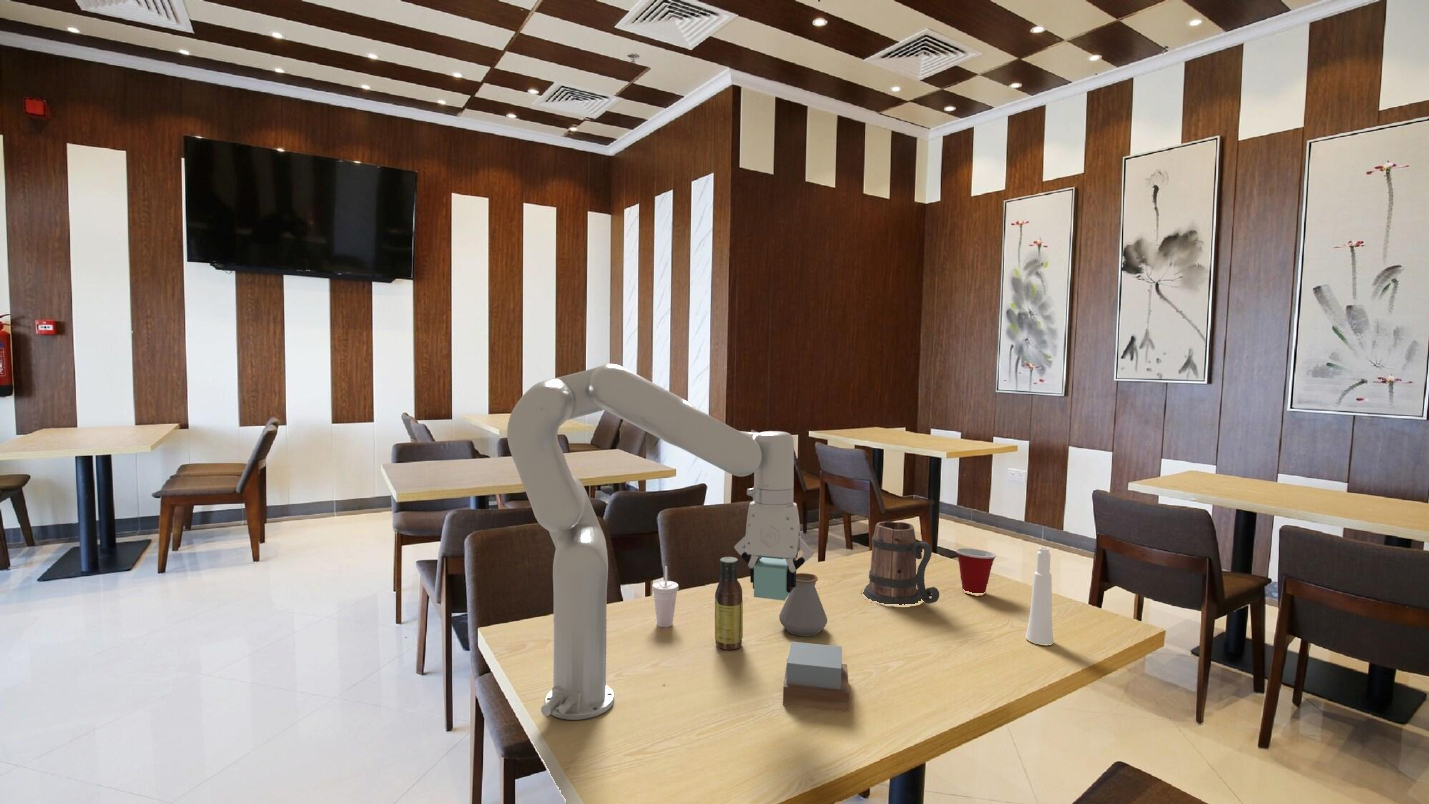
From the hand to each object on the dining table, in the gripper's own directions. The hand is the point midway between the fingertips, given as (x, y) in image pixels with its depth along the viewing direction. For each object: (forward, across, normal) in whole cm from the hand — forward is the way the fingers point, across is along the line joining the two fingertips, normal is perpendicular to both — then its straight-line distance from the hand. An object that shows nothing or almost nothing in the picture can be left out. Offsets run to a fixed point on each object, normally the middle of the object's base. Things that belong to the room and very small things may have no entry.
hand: (773, 587), depth 129 cm
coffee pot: (+21, -4, +34) cm, 40 cm away
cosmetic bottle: (+22, +53, +45) cm, 73 cm away
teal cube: (+1, 0, 0) cm, 1 cm away
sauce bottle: (+20, -14, +16) cm, 29 cm away
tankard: (+21, +21, +61) cm, 68 cm away
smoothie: (+20, -32, +22) cm, 44 cm away
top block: (+17, +8, +2) cm, 19 cm away
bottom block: (+21, +8, +2) cm, 23 cm away
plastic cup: (+22, +40, +75) cm, 88 cm away
